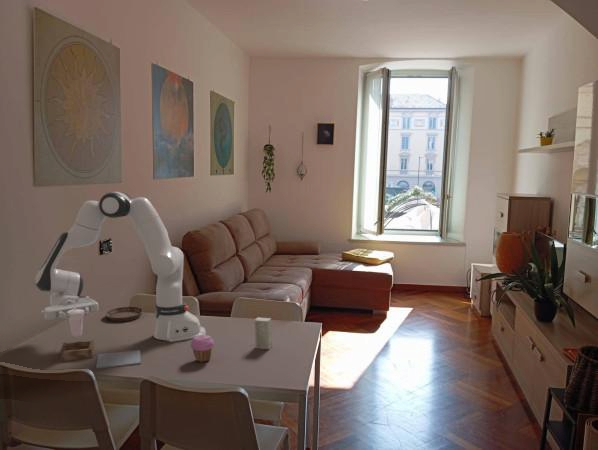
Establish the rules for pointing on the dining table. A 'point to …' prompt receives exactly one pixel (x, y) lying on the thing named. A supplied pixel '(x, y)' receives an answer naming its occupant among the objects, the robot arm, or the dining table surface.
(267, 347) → the skincare box
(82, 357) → the walnut holder
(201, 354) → the cupcake
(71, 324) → the smoothie
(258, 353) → the dining table surface
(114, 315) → the plant saucer
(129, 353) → the slate mat
